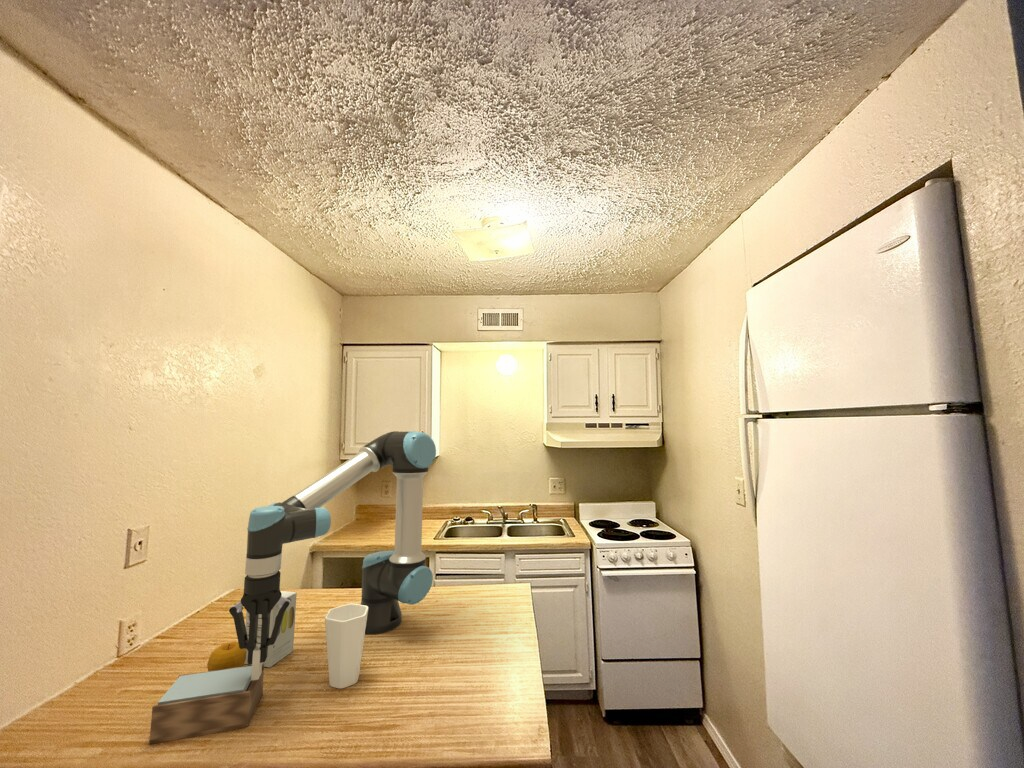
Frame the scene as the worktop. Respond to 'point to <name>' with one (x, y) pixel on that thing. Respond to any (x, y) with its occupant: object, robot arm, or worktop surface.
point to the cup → (345, 643)
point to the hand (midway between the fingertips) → (256, 676)
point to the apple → (227, 657)
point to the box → (205, 713)
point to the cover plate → (208, 685)
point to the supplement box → (285, 634)
